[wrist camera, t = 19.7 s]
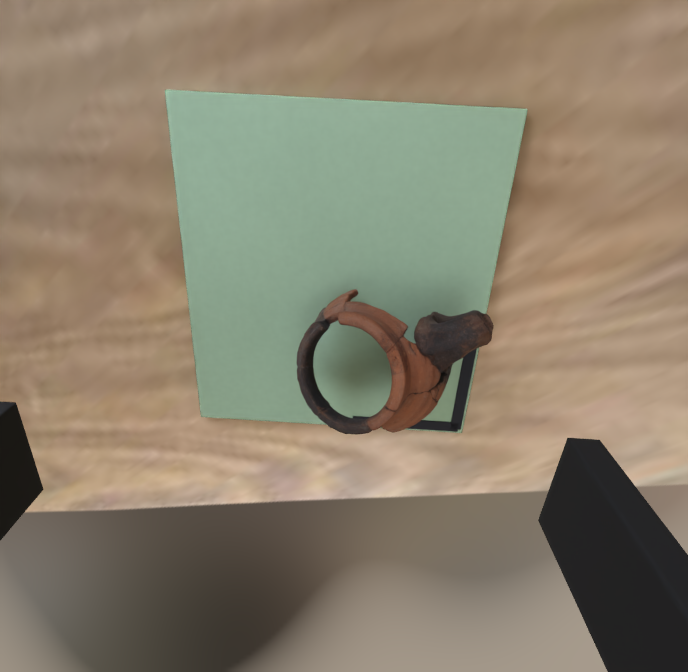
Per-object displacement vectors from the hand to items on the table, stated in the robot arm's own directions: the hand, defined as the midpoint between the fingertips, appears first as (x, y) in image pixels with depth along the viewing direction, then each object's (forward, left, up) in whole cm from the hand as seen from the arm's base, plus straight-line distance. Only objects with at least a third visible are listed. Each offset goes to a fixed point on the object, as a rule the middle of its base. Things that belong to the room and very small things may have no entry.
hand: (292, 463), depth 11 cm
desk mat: (0, -2, -20) cm, 20 cm away
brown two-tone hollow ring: (+4, -6, -19) cm, 20 cm away
